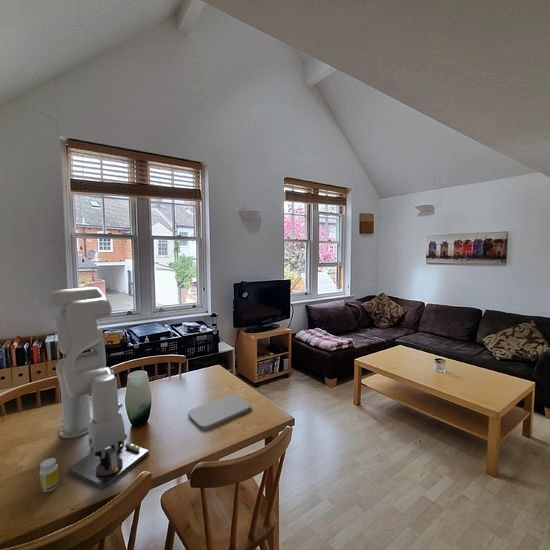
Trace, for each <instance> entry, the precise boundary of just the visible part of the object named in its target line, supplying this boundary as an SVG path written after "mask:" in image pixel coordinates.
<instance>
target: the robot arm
mask: <svg viewBox="0 0 550 550" xmlns="http://www.w3.org/2000/svg"><path fill="white" fill-rule="evenodd" d="M47 305H48V308H49V310H50V312H51V314H52V316H53V318H54V320H55V324H56V334H57V335H56V336H57V343H58V344H57V345H58V349H59V352H61V353H62V354H66V356H65V357H64V358H61V359H60V360H58V362H57V363H56V365H55V371H56V376H57V379H58V384H59V388H60V389H59V390H60V399H61V410H62V411H61V412H62V418H61V419H60V422H62V423H63V426H62V427H61V428H60V430H59V432H58V433H59V437H61V438H62V439H74V438H77V437H79V438H80V437H81V436H85V434H87V433H88V447H89V448H88V451H87V455H88V456H89V457H91V456H98V457H100V461H101V466H104V467H105V468H108V457H107V456H106V453H105V448H107V447H109V446H111V448H112V449H114V450H115V451H116V455H117V451H118V448H119V447H120V445H121V444H122V442H123V441H126V439H127V438H128V436H127V434H126V431H125V430H126V429H125V423H124V420H123V419H124V418H123V416H122V413H121V411H120V409H121V408H123V403H122V402H120V403H119V396H118V395H119V393H118V379H117V377H116V375H115V372H114V370H113V369H112V368H111V367H109V366H106V364H107V358H106V347H105V344H106V343H105V338H104V337H105V336H104V332H103V330H102V329H101V327H100V326H98V323H97V321H101V320H107V319H109V318H110V317H111V316H112V305H111V303H110V301H109V299H108V297H107V296H106V295H105V294H104V293H103V292H102V290H101V289H100V288H98V287H96V286H86V287H76V288H75V287H74V288H65V289H58V290H54V291H51V292H50V293H48V296H47ZM88 350H91V351H88ZM85 351H87V352H85ZM90 395H91V405H92V406H90ZM90 407H92V417H91V408H90ZM87 455H86V456H87Z"/></svg>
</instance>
